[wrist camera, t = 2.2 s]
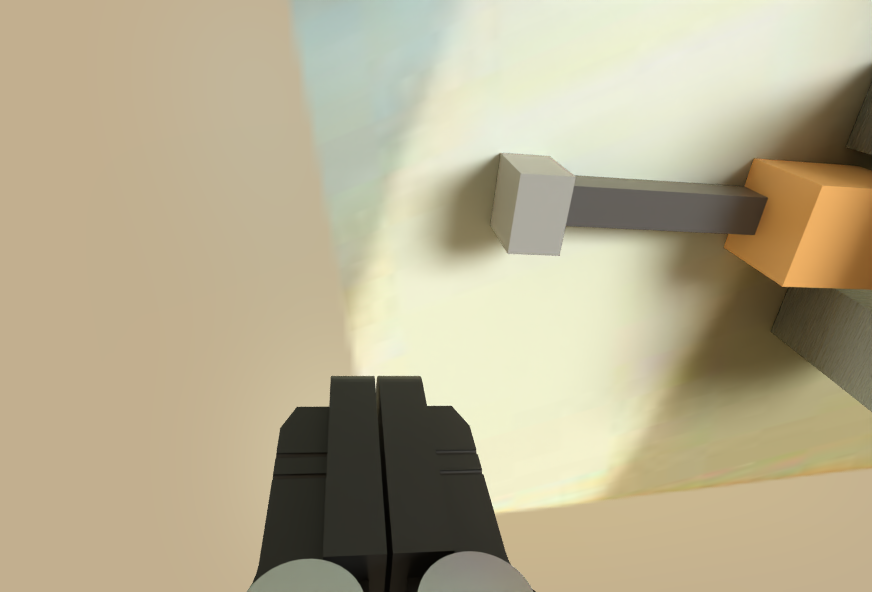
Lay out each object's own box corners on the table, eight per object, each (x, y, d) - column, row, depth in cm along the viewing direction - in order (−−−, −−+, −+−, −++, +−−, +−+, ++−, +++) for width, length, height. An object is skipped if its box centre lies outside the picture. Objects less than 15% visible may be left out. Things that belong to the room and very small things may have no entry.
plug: (502, 139, 23) (531, 166, 19) (858, 165, 25) (941, 193, 22) (488, 236, 24) (512, 277, 21) (822, 251, 27) (893, 290, 23)
